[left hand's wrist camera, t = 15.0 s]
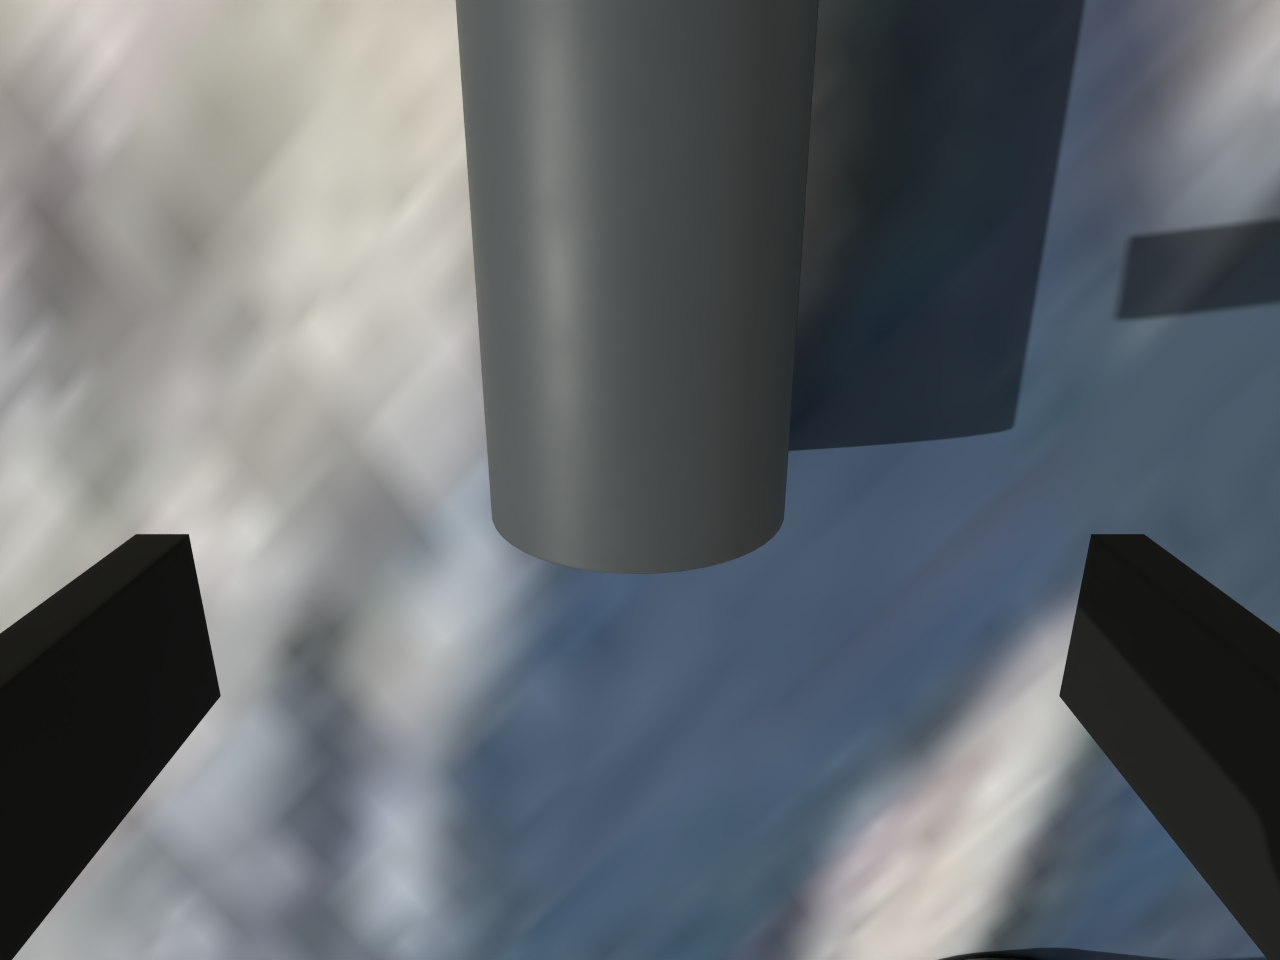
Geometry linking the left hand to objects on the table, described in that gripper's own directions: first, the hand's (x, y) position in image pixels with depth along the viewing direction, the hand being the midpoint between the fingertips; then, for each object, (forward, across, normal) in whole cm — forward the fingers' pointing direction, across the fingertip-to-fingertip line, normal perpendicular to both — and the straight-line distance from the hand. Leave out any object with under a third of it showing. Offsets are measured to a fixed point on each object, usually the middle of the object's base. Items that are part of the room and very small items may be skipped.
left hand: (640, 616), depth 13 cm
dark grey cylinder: (+17, 0, -9) cm, 20 cm away
